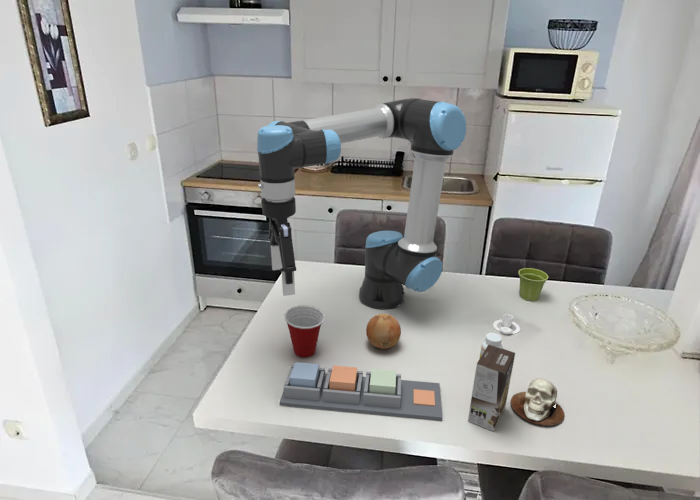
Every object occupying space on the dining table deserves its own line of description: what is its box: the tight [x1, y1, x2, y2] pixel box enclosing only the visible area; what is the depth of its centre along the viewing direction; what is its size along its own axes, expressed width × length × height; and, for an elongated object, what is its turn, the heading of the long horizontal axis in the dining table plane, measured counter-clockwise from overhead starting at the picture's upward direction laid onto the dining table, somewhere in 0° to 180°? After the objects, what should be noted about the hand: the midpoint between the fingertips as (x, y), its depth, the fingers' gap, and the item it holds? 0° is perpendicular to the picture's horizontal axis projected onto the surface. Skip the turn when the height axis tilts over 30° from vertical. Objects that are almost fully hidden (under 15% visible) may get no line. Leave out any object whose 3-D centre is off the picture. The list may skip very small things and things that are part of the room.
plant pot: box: [518, 267, 549, 302], centre depth 163 cm, size 9×9×9 cm
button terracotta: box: [329, 365, 358, 392], centre depth 117 cm, size 6×6×3 cm
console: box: [278, 364, 443, 422], centre depth 118 cm, size 38×12×4 cm, turn 83°
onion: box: [365, 313, 402, 350], centre depth 136 cm, size 10×10×10 cm
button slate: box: [290, 361, 320, 388], centre depth 118 cm, size 6×6×3 cm
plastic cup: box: [283, 304, 326, 359], centre depth 132 cm, size 11×11×12 cm
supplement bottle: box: [478, 332, 504, 359], centre depth 127 cm, size 5×5×10 cm
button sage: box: [369, 368, 397, 395], centre depth 116 cm, size 6×6×3 cm
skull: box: [510, 377, 565, 427], centre depth 115 cm, size 12×10×10 cm
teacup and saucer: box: [492, 313, 521, 335], centre depth 147 cm, size 9×8×4 cm
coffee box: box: [467, 345, 516, 432], centre depth 110 cm, size 9×6×16 cm
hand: (283, 281), depth 117 cm, fingers open, 13 cm apart
